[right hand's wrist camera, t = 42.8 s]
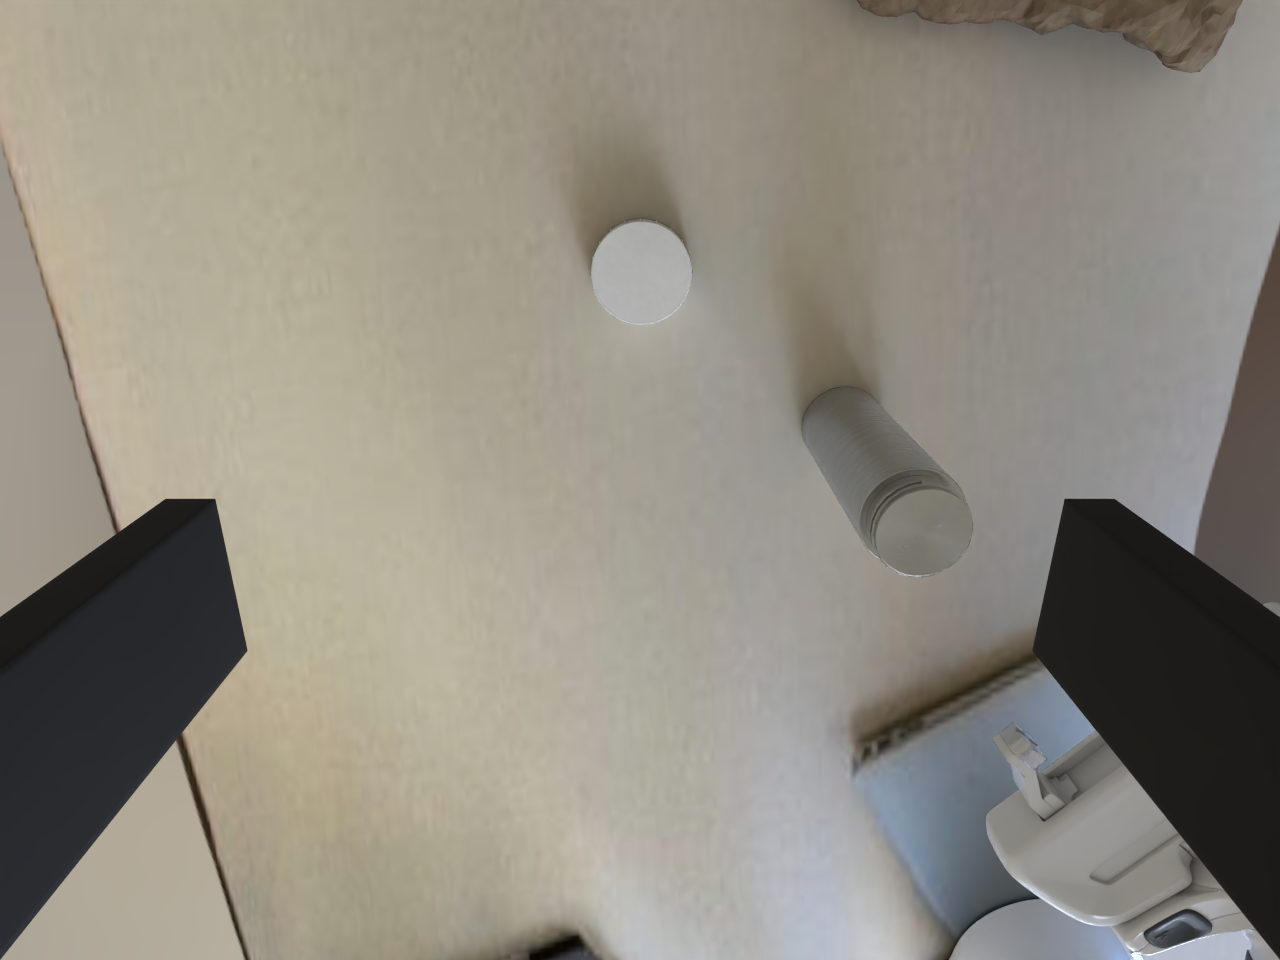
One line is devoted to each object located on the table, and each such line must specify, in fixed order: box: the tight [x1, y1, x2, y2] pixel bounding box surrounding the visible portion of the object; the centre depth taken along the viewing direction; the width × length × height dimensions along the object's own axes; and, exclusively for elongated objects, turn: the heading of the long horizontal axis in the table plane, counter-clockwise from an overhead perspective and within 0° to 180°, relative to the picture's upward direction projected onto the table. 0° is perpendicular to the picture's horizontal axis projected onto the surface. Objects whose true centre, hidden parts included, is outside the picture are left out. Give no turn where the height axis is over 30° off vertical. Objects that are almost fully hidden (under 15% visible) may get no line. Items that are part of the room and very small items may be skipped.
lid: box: [590, 218, 693, 324], centre depth 50 cm, size 6×6×2 cm
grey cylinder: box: [802, 387, 973, 577], centre depth 47 cm, size 5×5×17 cm
